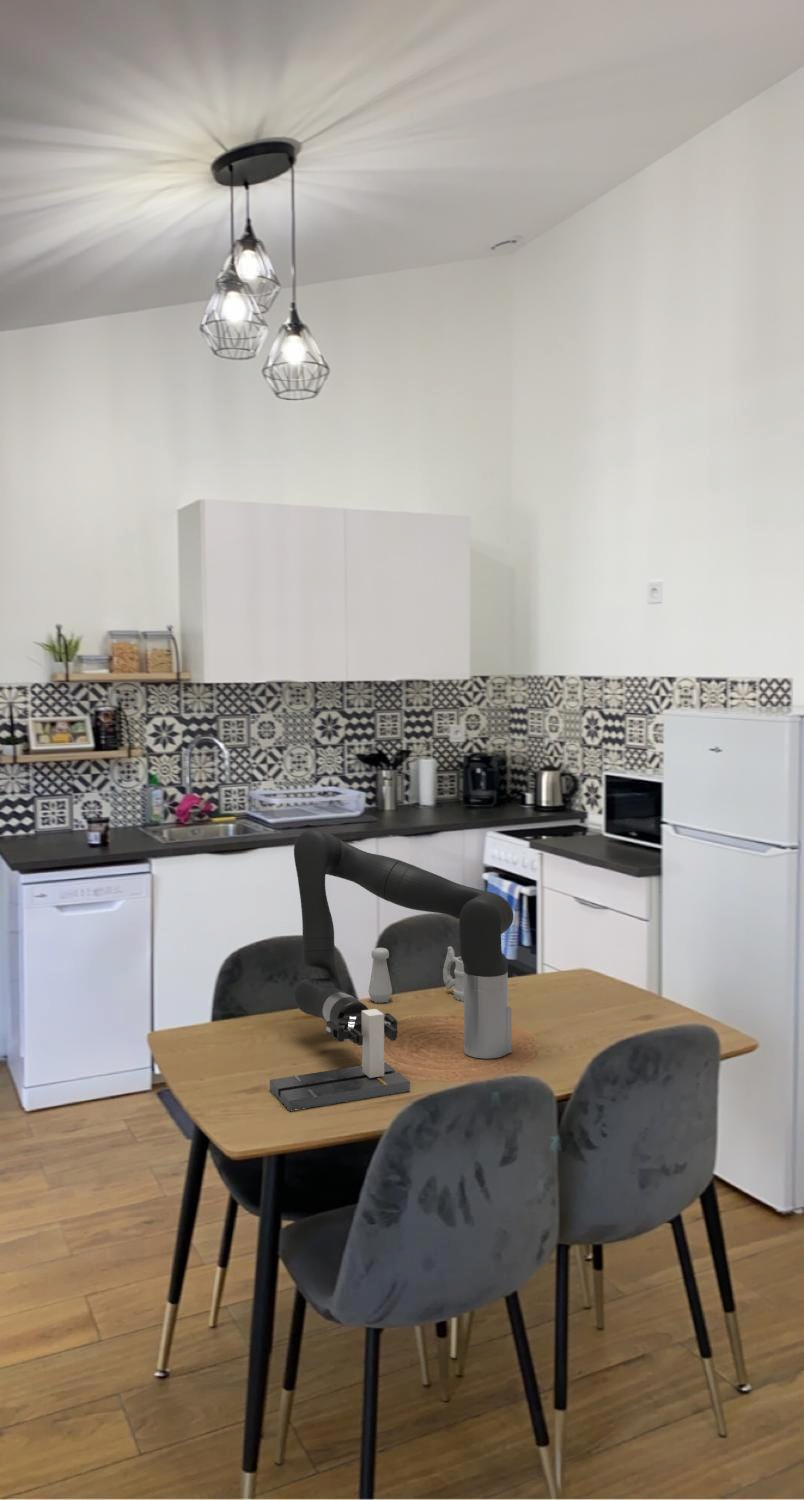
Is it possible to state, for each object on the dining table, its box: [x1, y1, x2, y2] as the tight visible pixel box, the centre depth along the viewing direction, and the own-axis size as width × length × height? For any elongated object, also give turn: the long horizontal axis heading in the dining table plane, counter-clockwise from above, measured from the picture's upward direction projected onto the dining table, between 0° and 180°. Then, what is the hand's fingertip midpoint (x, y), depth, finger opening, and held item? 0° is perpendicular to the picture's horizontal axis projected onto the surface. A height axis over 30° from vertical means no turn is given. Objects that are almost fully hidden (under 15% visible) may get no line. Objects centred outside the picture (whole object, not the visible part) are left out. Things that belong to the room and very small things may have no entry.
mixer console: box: [269, 1061, 411, 1112], centre depth 212 cm, size 24×12×2 cm, turn 114°
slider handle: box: [361, 1008, 385, 1078], centre depth 215 cm, size 3×4×13 cm
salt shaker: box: [368, 947, 393, 1004], centre depth 273 cm, size 6×6×13 cm
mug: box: [442, 946, 464, 1002], centre depth 276 cm, size 8×12×12 cm, turn 49°
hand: (377, 1037), depth 212 cm, fingers open, 6 cm apart
